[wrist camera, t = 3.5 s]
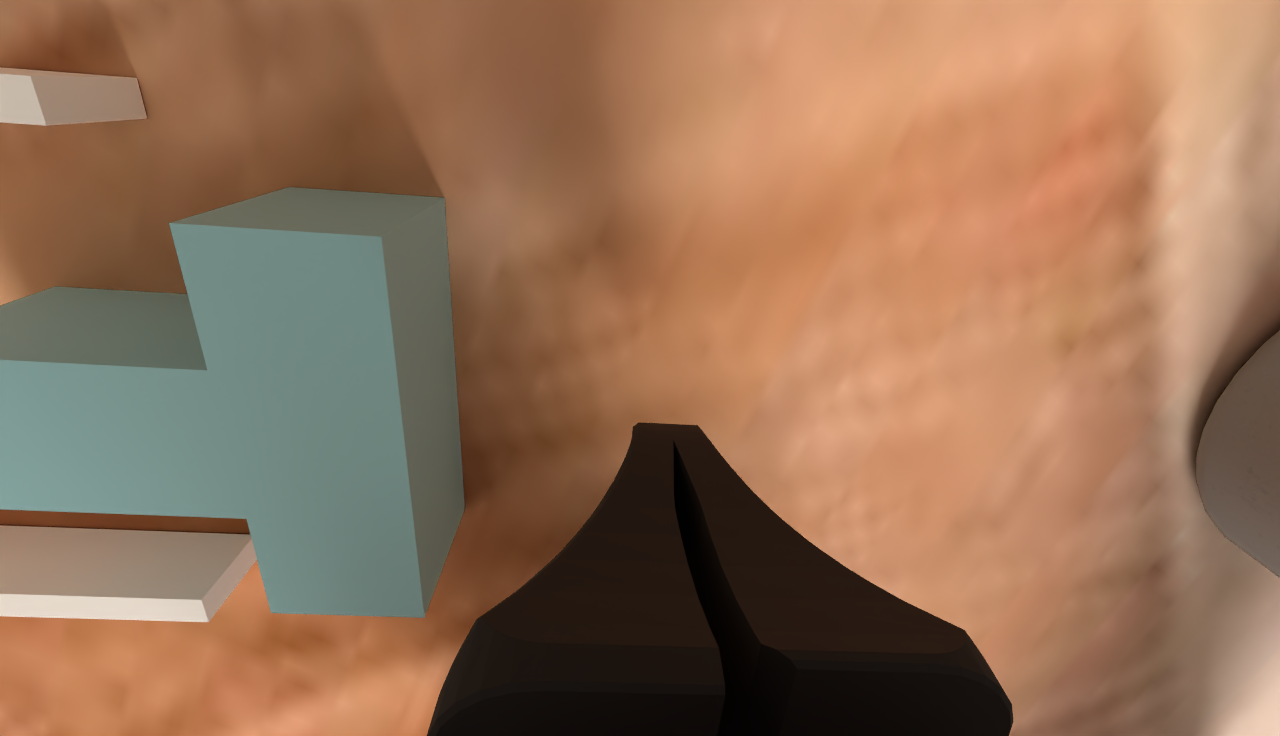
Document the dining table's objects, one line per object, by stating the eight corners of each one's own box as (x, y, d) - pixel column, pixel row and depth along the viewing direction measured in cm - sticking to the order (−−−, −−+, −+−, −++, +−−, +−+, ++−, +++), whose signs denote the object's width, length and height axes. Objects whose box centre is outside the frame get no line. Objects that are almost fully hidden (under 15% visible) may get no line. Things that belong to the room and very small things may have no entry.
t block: (444, 197, 14) (381, 236, 10) (465, 508, 18) (424, 617, 14) (12, 168, 13) (-216, 198, 10) (130, 495, 17) (-2, 604, 14)
